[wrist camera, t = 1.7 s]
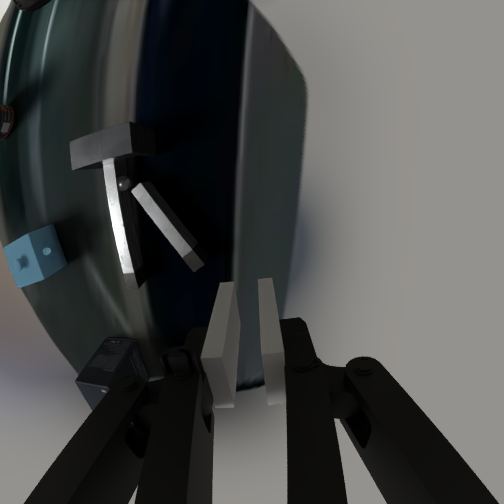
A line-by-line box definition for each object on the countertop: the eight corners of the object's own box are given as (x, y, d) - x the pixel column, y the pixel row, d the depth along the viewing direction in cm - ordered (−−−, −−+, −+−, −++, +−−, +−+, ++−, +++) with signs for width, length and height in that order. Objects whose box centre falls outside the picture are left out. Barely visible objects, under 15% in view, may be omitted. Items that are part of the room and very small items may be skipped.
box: (105, 337, 36) (73, 380, 25) (136, 338, 35) (108, 387, 25) (120, 375, 38) (97, 420, 28) (150, 378, 38) (130, 427, 28)
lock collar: (101, 144, 27) (69, 142, 21) (154, 130, 27) (129, 121, 21) (104, 168, 28) (72, 170, 22) (156, 155, 28) (132, 152, 21)
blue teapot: (73, 214, 30) (37, 226, 23) (87, 256, 32) (55, 277, 25) (25, 239, 31) (-7, 253, 24) (38, 274, 33) (8, 293, 26)
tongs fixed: (115, 161, 28) (102, 161, 25) (135, 156, 28) (123, 155, 25) (137, 279, 33) (127, 289, 29) (156, 277, 32) (147, 288, 29)
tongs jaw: (141, 189, 29) (130, 191, 26) (150, 181, 29) (140, 182, 26) (199, 262, 32) (193, 272, 29) (208, 255, 31) (204, 264, 28)
